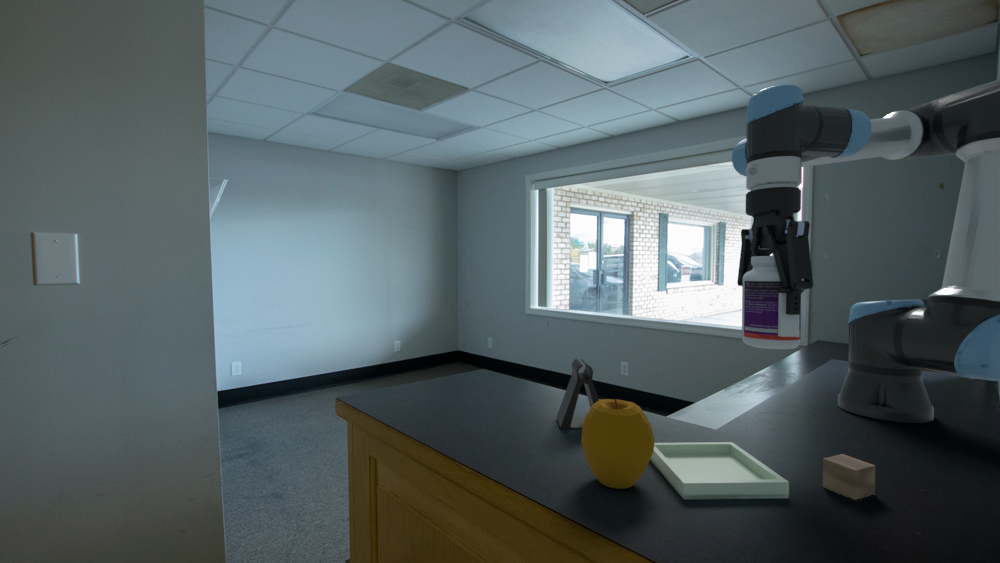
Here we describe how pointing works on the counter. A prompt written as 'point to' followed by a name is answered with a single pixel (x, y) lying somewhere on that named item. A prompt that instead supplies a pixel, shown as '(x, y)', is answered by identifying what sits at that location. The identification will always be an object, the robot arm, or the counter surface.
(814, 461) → the counter surface
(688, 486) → the tray
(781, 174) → the robot arm
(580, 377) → the phone stand
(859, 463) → the walnut block
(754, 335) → the pill bottle
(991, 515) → the counter surface
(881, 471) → the counter surface
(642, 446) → the apple
